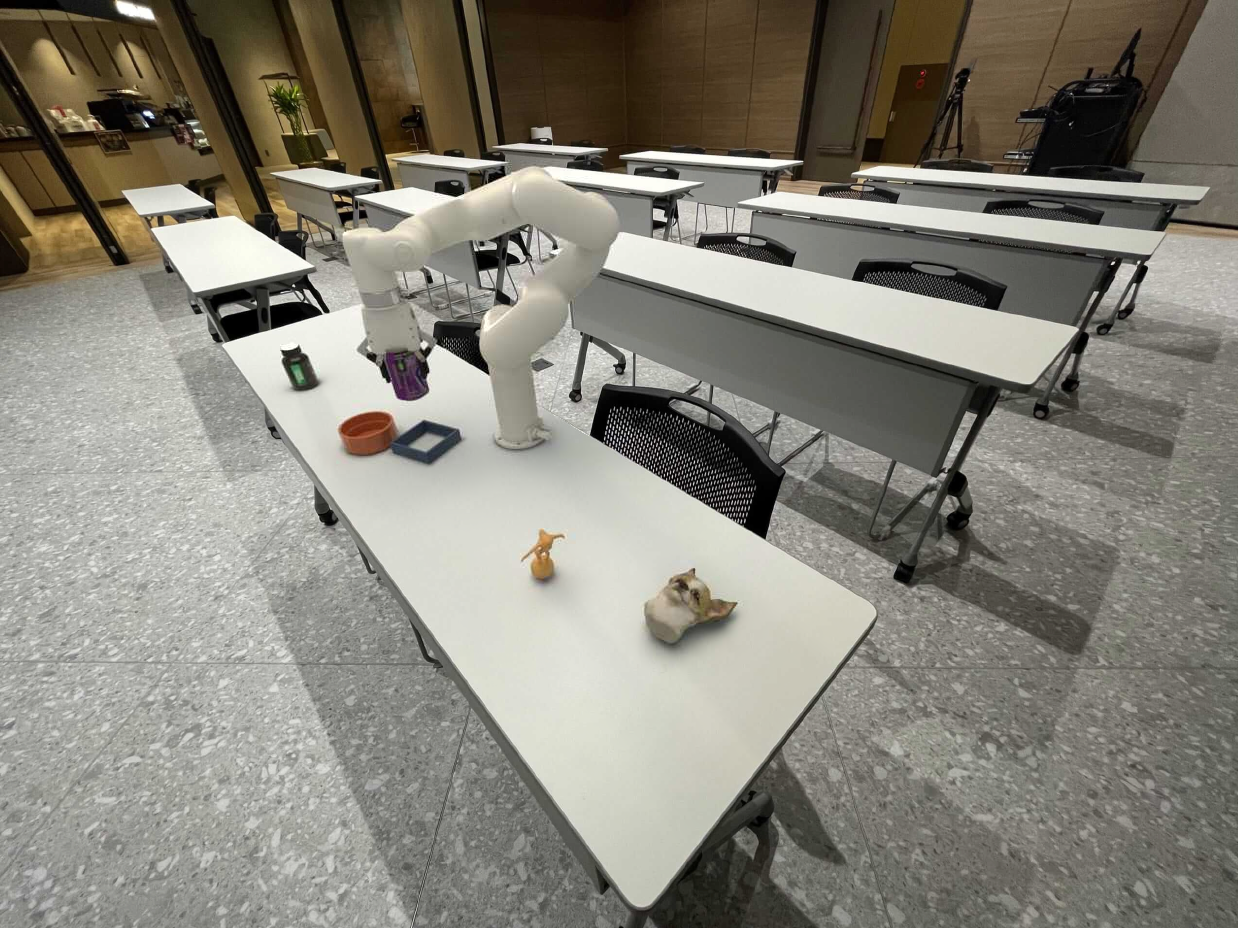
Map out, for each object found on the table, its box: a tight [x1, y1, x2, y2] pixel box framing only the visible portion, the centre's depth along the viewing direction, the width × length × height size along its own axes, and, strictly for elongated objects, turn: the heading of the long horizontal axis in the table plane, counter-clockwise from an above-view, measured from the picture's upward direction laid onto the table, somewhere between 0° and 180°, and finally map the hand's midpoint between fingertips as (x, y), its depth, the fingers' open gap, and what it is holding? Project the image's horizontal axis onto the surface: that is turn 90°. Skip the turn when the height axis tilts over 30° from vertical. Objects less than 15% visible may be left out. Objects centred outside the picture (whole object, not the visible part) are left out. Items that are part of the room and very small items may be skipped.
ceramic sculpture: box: [643, 567, 739, 644], centre depth 77 cm, size 11×9×15 cm
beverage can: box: [383, 348, 430, 402], centre depth 109 cm, size 7×7×12 cm
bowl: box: [337, 410, 400, 456], centre depth 121 cm, size 12×12×5 cm
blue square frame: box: [390, 419, 462, 465], centre depth 119 cm, size 11×11×3 cm
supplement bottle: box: [279, 343, 319, 391], centre depth 144 cm, size 7×7×12 cm
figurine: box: [520, 528, 565, 580], centre depth 83 cm, size 8×6×12 cm
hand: (407, 377), depth 110 cm, fingers closed on beverage can, 6 cm apart
